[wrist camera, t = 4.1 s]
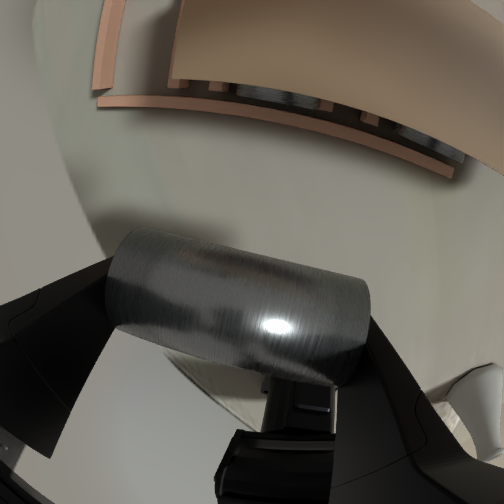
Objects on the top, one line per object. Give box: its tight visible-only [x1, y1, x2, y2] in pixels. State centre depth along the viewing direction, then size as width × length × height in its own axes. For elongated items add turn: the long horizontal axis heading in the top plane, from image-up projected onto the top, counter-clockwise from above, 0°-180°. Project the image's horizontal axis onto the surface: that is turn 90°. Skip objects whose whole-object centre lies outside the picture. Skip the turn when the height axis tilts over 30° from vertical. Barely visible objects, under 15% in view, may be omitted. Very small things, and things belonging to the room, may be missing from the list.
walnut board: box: [172, 0, 504, 176], centre depth 6 cm, size 6×17×2 cm, turn 81°
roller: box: [105, 227, 371, 388], centre depth 8 cm, size 4×7×4 cm, turn 81°
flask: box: [446, 364, 504, 463], centre depth 16 cm, size 7×7×10 cm
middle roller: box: [236, 84, 321, 110], centre depth 8 cm, size 7×4×4 cm, turn 171°
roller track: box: [92, 0, 466, 179], centre depth 9 cm, size 9×20×1 cm, turn 81°
